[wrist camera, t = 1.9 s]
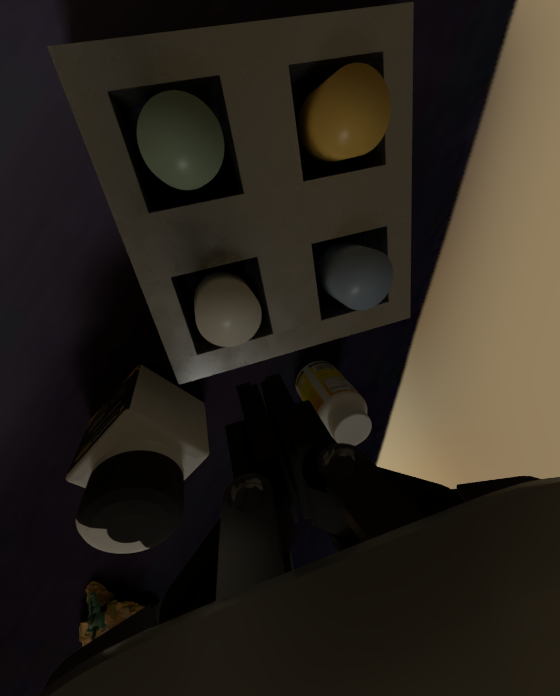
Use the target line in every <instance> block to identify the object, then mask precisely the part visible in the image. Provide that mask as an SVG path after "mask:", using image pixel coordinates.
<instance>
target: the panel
mask: <svg viewBox="0 0 560 696" xmlns="http://www.w3.org/2000/svg"><path fill="white" fill-rule="evenodd" d="M47 47H48V50H49V53H50V55H51V58H52V60H53V63H54V65H55V68H56V71H57V73H58V76H59V78H60V81H61V83H62V86H63V89H64V91H65V94H66V96H67V99H68V101H69V104H70V106H71V109H72V112H73V114H74V117H75V119H76V122H77V124H78V127H79V130H80V132H81V135H82V137H83V140H84V142H85V145H86V148H87V150H88V153H89V155H90V158H91V160H92V163H93V166H94V168H95V171H96V173H97V176H98V178H99V181H100V183H101V186H102V189H103V191H104V194H105V196H106V199H107V201H108V204H109V207H110V209H111V212H112V214H113V217H114V219H115V222H116V225H117V227H118V230H119V232H120V235H121V237H122V240H123V243H124V245H125V248H126V250H127V253H128V255H129V258H130V260H131V263H132V266H133V268H134V271H135V273H136V276H137V278H138V281H139V284H140V286H141V289H142V291H143V294H144V296H145V299H146V302H147V304H148V307H149V309H150V312H151V314H152V317H153V319H154V322H155V325H156V327H157V330H158V332H159V335H160V337H161V340H162V343H163V345H164V348H165V350H166V353H167V355H168V358H169V361H170V363H171V366H172V368H173V371H174V373H175V376H176V379H177V381H178V384H179V385H180V384H183V383H187V382H190V381H194V380H197V379H200V378H204V377H207V376H211V375H214V374H218V373H221V372H225V371H228V370H232V369H235V368H238V367H242V366H245V365H249V364H252V363H256V362H259V361H263V360H266V359H269V358H273V357H276V356H280V355H283V354H287V353H290V352H294V351H297V350H301V349H304V348H307V347H311V346H314V345H318V344H321V343H325V342H328V341H332V340H335V339H338V338H342V337H345V336H349V335H352V334H356V333H359V332H363V331H366V330H370V329H373V328H376V327H380V326H383V325H387V324H390V323H394V322H397V321H401V320H404V319H407V318H410V283H411V187H412V91H413V2H409V3H400V4H392V5H384V6H376V7H368V8H359V9H351V10H343V11H335V12H326V13H318V14H310V15H302V16H293V17H285V18H277V19H269V20H260V21H252V22H244V23H236V24H228V25H219V26H211V27H203V28H195V29H186V30H178V31H170V32H162V33H153V34H145V35H137V36H129V37H120V38H112V39H104V40H96V41H88V42H79V43H71V44H63V45H55V46H47ZM351 63H364V64H367V65H370V66H371V67H373V68H374V69H376V70H377V71H378V72H379V73H380V74H381V76H382V77H383V79H384V81H385V82H386V85H387V87H388V90H389V94H390V100H391V113H390V120H389V124H388V127H387V130H386V132H385V134H384V136H383V138H382V139H381V141H380V142H379V143H378V144H377V146H376V147H375V148H373V149H372V150H371V151H369V152H368V153H366V154H364V155H360V156H358V169H357V170H352V171H347V172H342V173H337V174H332V175H327V176H323V177H318V178H313V179H308V180H303V175H302V167H301V159H300V152H299V144H298V136H297V128H296V121H295V113H294V105H293V97H292V89H291V83H295V82H302V81H308V80H315V79H321V78H328V77H330V76H332V75H333V74H334V73H335V72H336V71H338V70H339V69H340V68H342V67H343V66H345V65H348V64H351ZM168 90H178V91H184V92H187V93H190V94H192V95H194V96H196V97H197V98H198V97H205V96H211V95H214V98H215V102H216V107H217V111H218V116H219V121H220V125H221V129H222V133H223V137H224V143H225V148H226V153H227V157H228V162H229V166H230V171H231V175H232V180H233V185H234V189H235V195H230V196H225V197H220V198H215V199H210V200H205V201H200V202H196V203H191V204H186V205H181V206H176V207H171V208H166V209H161V210H157V211H154V209H153V206H152V203H151V200H150V197H149V194H148V191H147V188H146V185H145V182H144V179H143V176H142V173H141V170H140V167H139V164H138V161H137V158H136V155H135V152H134V149H133V146H132V143H131V140H130V137H129V134H128V131H127V128H126V124H125V121H124V118H123V115H122V112H121V109H127V108H134V107H140V106H144V105H145V104H146V103H147V102H148V101H149V100H150V99H151V98H152V97H153V96H155V95H156V94H159V93H161V92H164V91H168ZM359 232H362V243H363V246H364V247H368V248H372V249H375V250H379V251H381V252H383V253H384V254H385V255H386V256H387V257H388V258H389V260H390V262H391V264H392V267H393V282H392V285H391V288H390V290H389V292H388V294H387V295H386V297H385V298H384V299H383V300H382V301H381V302H380V303H379V304H377V305H376V306H374V307H372V308H370V309H367V310H354V309H351V308H349V307H347V306H346V305H344V304H343V303H341V302H340V301H338V300H337V299H335V298H332V299H329V300H325V301H321V302H319V300H318V292H317V284H316V276H315V268H314V261H313V253H312V245H311V244H313V243H317V242H321V241H326V240H330V239H334V238H338V237H342V236H347V235H351V234H355V233H359ZM246 259H250V262H251V267H252V271H253V276H254V281H255V285H256V290H257V294H258V299H259V303H260V307H261V312H262V317H261V323H260V326H259V328H258V330H257V332H256V333H255V334H254V336H253V337H252V338H251V339H249V340H248V341H247V342H245V343H243V344H241V345H238V346H234V347H222V346H218V345H215V344H212V343H211V342H209V341H208V340H206V339H205V338H204V337H203V336H202V334H198V335H195V332H194V329H193V326H192V323H191V320H190V317H189V314H188V311H187V308H186V305H185V302H184V299H183V296H182V293H181V290H180V287H179V284H178V281H177V278H176V276H178V275H183V274H187V273H191V272H195V271H199V270H204V269H208V268H212V267H216V266H221V265H225V264H229V263H233V262H237V261H242V260H246Z"/></svg>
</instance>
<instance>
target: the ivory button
mask: <svg viewBox="0 0 560 696" xmlns="http://www.w3.org/2000/svg"><path fill="white" fill-rule="evenodd" d="M194 309H195V320H196V325H197V328H198V330H199V332H200V333H201V334H202V336H203V337H204V338H205V339H206V340H208V341H209V342H211V343H212V344H215V345H218V346H222V347H234V346H238V345H241V344H243V343H245V342H247V341H248V340H249V339H251V338H252V337H253V336H254V334H255V333H256V332H257V330H258V328H259V326H260V323H261V317H262V312H261V307H260V304H259V302H258V300H257V298H256V297H255V295H254V294H253V292H252V291H251V290H250V288H249V287H248V285H247V284H246V283H245V282H244V280H243V279H241V278H240V277H239V276H237V275H235V274H233V273H230V272H215V273H212V274H210V275H208V276H206V277H205V278H204V279H202V280H201V282H200V283H199V284H198V286H197V288H196V290H195V293H194Z"/></svg>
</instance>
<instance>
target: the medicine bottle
mask: <svg viewBox="0 0 560 696" xmlns="http://www.w3.org/2000/svg"><path fill="white" fill-rule="evenodd" d="M208 455H209V446H208V436H207V425H206V414H205V404H204V403H203V402H202V401H200V400H199V399H197V398H195V397H194V396H192V395H190V394H189V393H187V392H185V391H184V390H182V389H181V388H179V387H177V386H176V385H174V384H172V383H171V382H169V381H167V380H166V379H164V378H163V377H161V376H159V375H158V374H156V373H154V372H153V371H151V370H150V369H148V368H146V367H145V366H143V365H138V366H137V367H136V368H135V369H134V370H133V372H132V373H131V374H130V375H129V376H128V377H127V378H126V380H125V381H124V382H123V383H122V384H121V385H120V386H119V387H118V389H117V390H116V391H115V392H114V393H113V394H112V395H111V397H110V398H109V399H108V400H107V401H106V402H105V403H104V405H103V406H102V407H101V408H100V409H99V410H98V411H97V413H96V414H95V415H94V416H93V417H92V418H91V420H90V422H89V424H88V427H87V429H86V431H85V434H84V436H83V438H82V441H81V443H80V445H79V448H78V450H77V452H76V455H75V457H74V459H73V462H72V464H71V466H70V469H69V471H68V473H67V476H66V480H67V481H68V482H70V483H73V484H76V485H78V486H81V487H84V488H85V491H84V494H83V497H82V500H81V503H80V506H79V509H78V512H77V515H76V526H77V529H78V531H79V533H80V535H81V536H82V537H83V538H84V540H85V541H86V542H87V543H88V544H90V545H91V546H93V547H95V548H97V549H99V550H102V551H105V552H110V553H134V552H139V551H143V550H146V549H149V548H152V547H154V546H156V545H158V544H160V543H161V542H163V541H164V540H166V539H167V538H168V537H169V536H170V535H171V534H172V533H173V532H174V531H175V530H176V529H177V528H178V526H179V525H180V523H181V521H182V518H183V514H184V480H185V479H186V478H187V477H188V476H189V475H190V474H191V473H192V472H193V471H194V470H195V469H196V468H197V467H198V466H199V465H200V464H201V463H202V462H203V461H204V460H205V458H206V457H207V456H208Z"/></svg>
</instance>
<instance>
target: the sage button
mask: <svg viewBox="0 0 560 696" xmlns="http://www.w3.org/2000/svg"><path fill="white" fill-rule="evenodd" d="M137 141H138V146H139V150H140V152H141V155H142V157H143V159H144V161H145V163H146V164H147V166H148V167H149V169H150V170H151V171H152V172H153V173H154V174H155V175H156V176H157V177H158V178H159V179H161V180H162V181H163V182H165V183H166V184H168V185H169V186H171V187H173V188H176V189H179V190H195V189H198V188H200V187H202V186H204V185H205V184H207V183H208V182H209V181H211V180H212V179H213V178H214V177H215V175H216V174H217V172H218V171H219V169H220V167H221V165H222V161H223V157H224V137H223V133H222V129H221V127H220V124H219V122H218V120H217V118H216V116H215V115H214V113H213V112H212V111H211V109H210V108H209V107H208V106H207V105H206V104H205V103H204V102H203V101H202V100H200V99H199V98H197V97H196V96H194V95H192V94H190V93H187V92H184V91H178V90H168V91H164V92H161V93H159V94H156V95H155V96H153V97H152V98H151V99H150V100H149V101H148V102H147V103H146V104H145V105H144V107H143V109H142V110H141V113H140V115H139V118H138V122H137Z"/></svg>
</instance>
